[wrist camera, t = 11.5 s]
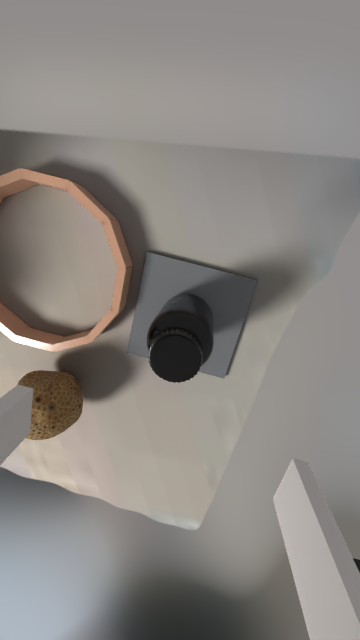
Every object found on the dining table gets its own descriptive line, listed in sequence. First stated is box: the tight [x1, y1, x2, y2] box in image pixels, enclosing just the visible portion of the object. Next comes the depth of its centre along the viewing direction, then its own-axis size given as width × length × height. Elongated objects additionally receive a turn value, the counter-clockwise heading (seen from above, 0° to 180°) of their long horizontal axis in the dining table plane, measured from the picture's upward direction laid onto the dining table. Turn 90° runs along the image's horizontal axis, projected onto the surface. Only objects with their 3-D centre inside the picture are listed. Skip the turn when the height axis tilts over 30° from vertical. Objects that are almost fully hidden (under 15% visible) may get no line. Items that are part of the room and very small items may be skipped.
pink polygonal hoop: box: [0, 168, 133, 352], centre depth 32 cm, size 21×21×3 cm
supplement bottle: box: [147, 294, 214, 383], centre depth 28 cm, size 7×7×12 cm
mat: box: [127, 252, 258, 378], centre depth 34 cm, size 14×14×1 cm
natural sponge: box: [18, 370, 83, 440], centre depth 34 cm, size 9×9×10 cm
